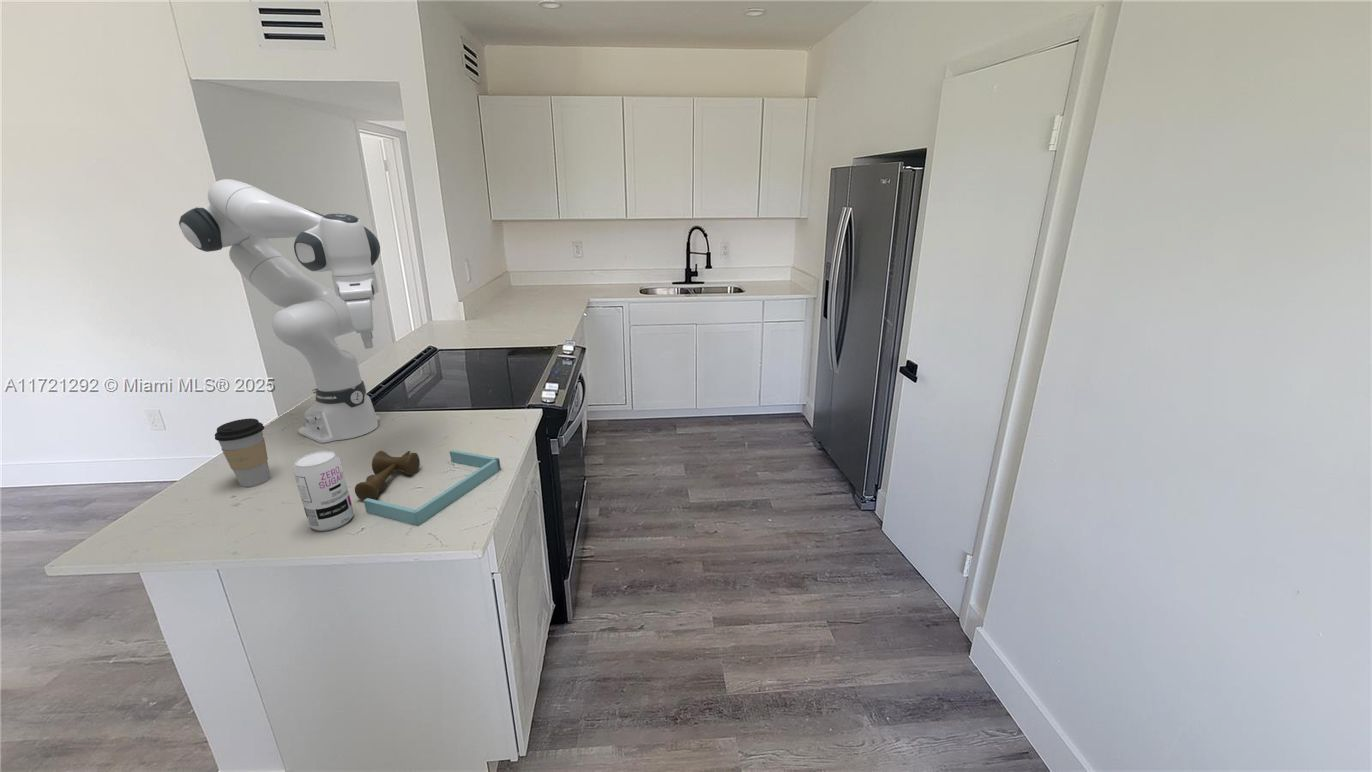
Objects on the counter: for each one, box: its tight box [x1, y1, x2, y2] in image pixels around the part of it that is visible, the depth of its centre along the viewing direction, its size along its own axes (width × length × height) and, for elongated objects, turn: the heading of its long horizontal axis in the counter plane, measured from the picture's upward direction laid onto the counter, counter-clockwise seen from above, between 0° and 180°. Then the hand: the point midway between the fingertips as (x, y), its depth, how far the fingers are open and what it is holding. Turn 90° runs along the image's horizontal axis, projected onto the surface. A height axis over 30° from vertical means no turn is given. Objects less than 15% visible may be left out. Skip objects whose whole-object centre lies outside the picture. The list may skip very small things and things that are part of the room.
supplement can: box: [293, 450, 355, 532], centre depth 115 cm, size 8×8×15 cm
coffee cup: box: [214, 418, 271, 488], centre depth 133 cm, size 9×9×15 cm
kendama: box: [354, 450, 421, 502], centre depth 133 cm, size 6×10×20 cm
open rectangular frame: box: [363, 449, 502, 526], centre depth 129 cm, size 15×26×3 cm, turn 158°
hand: (369, 343), depth 134 cm, fingers open, 8 cm apart
